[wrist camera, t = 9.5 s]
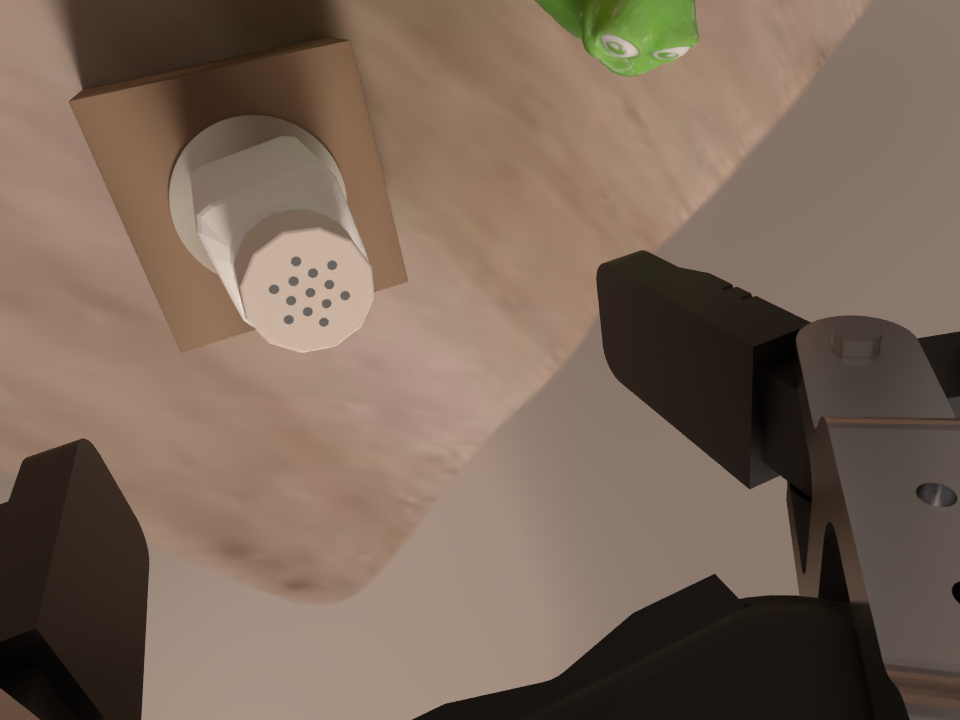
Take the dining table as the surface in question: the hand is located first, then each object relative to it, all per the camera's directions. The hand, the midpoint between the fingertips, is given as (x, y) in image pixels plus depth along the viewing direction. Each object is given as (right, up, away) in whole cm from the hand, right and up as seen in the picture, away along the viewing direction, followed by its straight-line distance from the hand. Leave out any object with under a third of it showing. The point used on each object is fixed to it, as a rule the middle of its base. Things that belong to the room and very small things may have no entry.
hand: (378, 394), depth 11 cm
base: (-8, +8, +17) cm, 20 cm away
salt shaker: (-6, +6, +14) cm, 16 cm away
